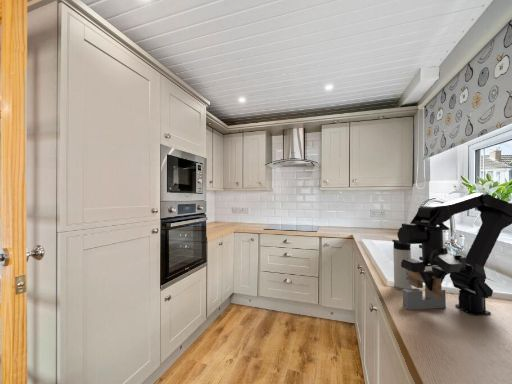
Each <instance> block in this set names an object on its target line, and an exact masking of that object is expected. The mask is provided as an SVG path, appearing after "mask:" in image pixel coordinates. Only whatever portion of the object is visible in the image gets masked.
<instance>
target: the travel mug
mask: <svg viewBox="0 0 512 384" xmlns="http://www.w3.org/2000/svg"><path fill="white" fill-rule="evenodd" d="M391 242H392V243H393V251H392V252H393V286H394V288H395V289H396V290H398V291H402V292H403V289H413V286H412V285H411V284H409V274H408V270H407V269H405V268H402V267H401V261H402V260H403V259H412V249H411V246H412V244H402V243H401V242H400V241H399V239H398V240H397V239H392V240H391Z"/></svg>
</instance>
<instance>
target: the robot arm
mask: <svg viewBox="0 0 512 384" xmlns="http://www.w3.org/2000/svg"><path fill="white" fill-rule="evenodd" d="M473 209H475V210H476V211H478V212H480V214H479V217H480V219H481V226H480V227H479V229H478V232H477V233H476V235H475V238H474V240H473V242H472V244H471V245H470V248H469V250H468V252H467V253H466V256H464V255H462V254H456V255H454V254H449V253H448V251H449V250H448V249H447V247H445V246H444V231H449V230H450V228H449V226H447V225H446V224H444V223H445V222H447V221H448V220H451V218H452V217H453V216H455V215H457V214H460V213H464V212H467V211H470V210H473ZM510 225H512V202H508V201H506V200H504V199H501V198H497V197H495V196H492V195H491V194H489V193H487V192H486V193H485V192H480V193H478V192H477V193H471V194H469V195H467V196H464V197H463V196H462V197H460V198H457V199H454V200H451V201H450V200H449V201H447V202H444V203H437V204H436V203H435V204H428V205H426V204H425V205H421V206H419V207H418V210H417V213H416V214H415V215H414V217H413V218H412V220H411V221H410V223H401V227H400V228H399V229H398V231H397V238H398V240H399V241H400V242H401V243H402V244H411V245H418V248H419V249H421V256H419V257H418V258H419V260H417V259H414V258H411V259H403V260H402V261H401V267H402V268H405V269H407V270H409V271H412V272H419V274H420V275H421V277H422V278H423V280H424V282H425V283H424V285H425V284H426V286H427V288H428V289H429V290H430V291H432V288H433V276H436V277H438V278H441V285H442V284H443V282H444V280H445V278H446V276H447V275H449V278H450V281H451V282H452V286H453V288H456V289H458V290H459V291H458V293H459V294H458V303H457V304H455V307H456V308H458V309H460V310H462V311H464V312H466V313H468V314H469V315H472V316H484V315H491V314H492V312H491V311H488V310H487V308H486V299H489V298H492V297H493V293H494V290H493V289H492V288H491V287H490V286H489V285H488V283H486V280H487V275H486V271H485V266H486V264H487V262H488V259H489V257H490V255H491V253H492V252H493V249H494V247H495V245H496V243H497V240H498V238H499V236H500V234H501V232H502V231H503V230H504V229H506V228H507V227H509V226H510Z"/></svg>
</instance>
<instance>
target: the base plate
mask: <svg viewBox="0 0 512 384" xmlns="http://www.w3.org/2000/svg"><path fill="white" fill-rule="evenodd" d="M446 298H447V297H446V290H445V289H444V288H442V297H437V298H436V297H434V296H432V295H430V294H428V293H426V292H425V291H424V296H423V291H422V290H421V289H420V288H412V289H403V291H402V307H403V308H405V309H406V310H408V311H409V310H421V309H423V310H424V309H426V310H427V309H442V308H444V309H445V308H447V304H446V300H447V299H446Z"/></svg>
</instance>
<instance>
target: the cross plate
mask: <svg viewBox="0 0 512 384" xmlns="http://www.w3.org/2000/svg"><path fill="white" fill-rule="evenodd" d="M408 274H409V284H411V285H412V287H415V289H423V288H424V287H425V288H424V293H425V292H426V293H428V294H430V295H432V296H434V297H436V298H437V297H442V289H443V287H442V284H441V278H438V277H436V276H433V288H432V291H430V290H429V289H428V288H427V286H426V284H425V282H424V280H423V278H422V277H421V275H420V274H419V272H412V271H409V270H408ZM423 283H424V284H423Z"/></svg>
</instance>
